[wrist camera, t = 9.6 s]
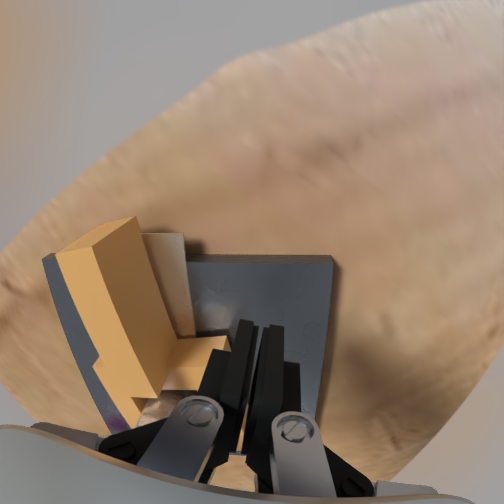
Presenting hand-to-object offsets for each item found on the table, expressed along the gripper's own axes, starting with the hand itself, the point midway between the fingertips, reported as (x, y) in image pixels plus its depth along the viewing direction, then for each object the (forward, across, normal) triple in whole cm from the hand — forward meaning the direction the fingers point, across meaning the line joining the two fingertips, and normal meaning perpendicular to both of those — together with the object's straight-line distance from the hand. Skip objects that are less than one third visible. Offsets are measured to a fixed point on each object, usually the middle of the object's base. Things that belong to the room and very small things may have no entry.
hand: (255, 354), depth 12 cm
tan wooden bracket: (+7, +6, +6) cm, 11 cm away
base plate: (+9, +4, +10) cm, 14 cm away
